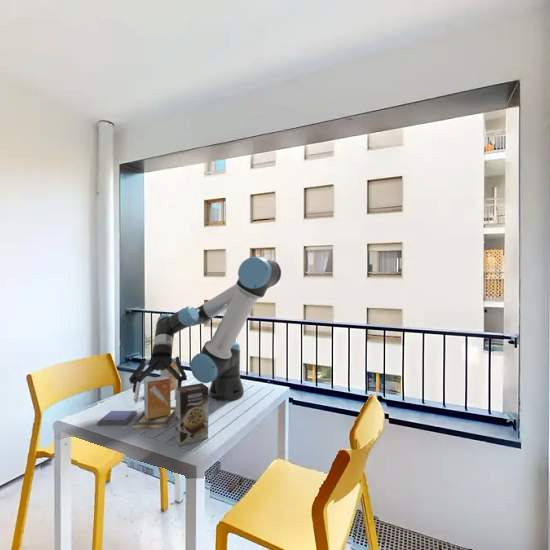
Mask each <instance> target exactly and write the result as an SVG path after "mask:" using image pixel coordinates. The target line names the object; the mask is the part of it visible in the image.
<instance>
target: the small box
mask: <svg viewBox="0 0 550 550" xmlns="http://www.w3.org/2000/svg"><path fill="white" fill-rule="evenodd" d="M143 380H144V381H143V386H144V387H143V388H144V389H143V394H144V395H143V396H144V398H143V401H144V404H143V405H144V409H143V410H144V411H143V412H144V414H145V416H146V418H147V419H151V418H156V417H161V416H166V415H170V414H171V407H172V406H171V401H172V400H171V391H170V378H169V377H167V376H161V377H160V376H156V377H151V378H150V377H149V378H144V379H143Z"/></svg>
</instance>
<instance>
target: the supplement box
mask: <svg viewBox="0 0 550 550" xmlns="http://www.w3.org/2000/svg"><path fill="white" fill-rule="evenodd" d="M179 361H180V362H181V359H180V358H179ZM170 365H171V366H172V368H173V369H174V370H175V371H176V372H177V373H178V374H179V375H180V376H181V373H180V371H179V369H178V367H177V365H176V364H174V362H172V363H171V364H170ZM159 372H160V374H159V375H160V376H159V377H161V376H167V377H169V378H170V392H172V391H173V390H175V385H176V380H177V379H176V378H175V377H174V376H173V375H172V374H171V373H170V372H169V371H168V370H167V369H165V370H159Z"/></svg>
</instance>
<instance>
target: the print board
mask: <svg viewBox="0 0 550 550" xmlns="http://www.w3.org/2000/svg"><path fill="white" fill-rule="evenodd" d="M175 418H176V406H171V414H170V415H166V416H161V417H156V418H151V419H147V418H146V416H145V414H144V411H143V412H141V414H140V415H139V416H138V417H137V418H136V419H135V420H134V422H132V425H131V429H168V427H169V426H170V425H171V423H172V422H173V420H174V419H175Z"/></svg>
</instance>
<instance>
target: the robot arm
mask: <svg viewBox="0 0 550 550" xmlns="http://www.w3.org/2000/svg"><path fill="white" fill-rule="evenodd" d="M237 275H238V279H237V280H236V283H235V284H233V285H232V286H231V287H229V288H228V289H226V290H224V291H222V292H221V293H219V294H217V295H216V296H214V297H212V298H211V299H209V300H207V301H206V302H204V303H203V304H201V305H199V306H197V307H193V306H191V305H188V306H186V307H183V308H181V309H180V310H178V311H177V312H175V313H173V314H171V313H165V314H161V315H159V317H157V321H156V325H155V331H154V332H155V333H154V339H153V344H152V350H151V357H150V359H146V358H145V357H143V358H142V359H141V362H140V364H138V366H137V367H136V368H135V371H134V372H133V373H132V374H131V376H130V377H129V378H128V380H129V383H130V384H131V385H132V384H133V385H132V392H133V394H134V396H133V401H134V403H138V402H139V396H140V391H141V382H143V380H144V379H147V377H148V376H149V375H151V373H153V372H154V371H156V372H157V371H158V372H159V371H160V370H165V369H167V370H168V371H169V372H170V373H171V374H172V375H173V376H174V377H175V378H176V379H177V380H176V385H175V389H174V400H175V401H176V387H182V385H183V383H182V382H183V381H184V382H185V381H187V379H188V378H187V374H186V372H185V370H184V367H183V366H182V364H181V360H180V361H179V359H180V356H178V355H177V356H176V357H174V358H173V357H172V356H173V347H174V336H175V334H177V333H179V332H180V331H183V330H184V329H186V328H190V327H194V326H195V327H196V326H198V325H204V324H207V323H209V322H211V320H213V318H215V317H217V316H218V315H220V314H221V313H224V312H225V313H224V315H223V317H222V319H221V321H220V322H219V324H218V326H217V328H216V330H215V332H214V334H213V336H212V338H211V340H207V341H206V342H204V345H203V347H202V348H201V350H200V352H198V353H196V354H195V355H194V356H193V357H191V358H192V359H191V360H190V366H189V368H190V371H191V374H192V376H193V377H194V378H195V380H197V381H198V382H200V383H203V384H209V383H210V386H209V399H211V400H214V401H219V402H220V401H221V402H223V401H224V402H225V401H226V400H229V401H234V400H233V399H235V400H237V399H236V398H238V399H240V398H242V397H243V396H244V394H245V393H244V392H245V391H244V390H245V389H244V385H243V382H242V379H241V375H240V373H241V372H240V371H241V370H240V369H241V366H240V365H241V364H240V363H241V349H240V344H239V343H238V342H236V341H237V339H238V336H239V335H240V333H241V331H242V328H244V326H245V323H246V321H247V320H248V317H249V316H250V314H251V313H252V310H253V308H254V306H255V304H256V303H257V301H258V300H259V299H263V298H264V296H265V294H266V293H267V290H268V289H270V288H272V287H273V286H275V285H277V284H278V283H279V281H280V280H281V276H282V268H281V267H280V264H279V262H276V260H274V259H271V258H266V257H262V256H251V257H247V258H246V259H245V260H243V261H242V262H241V264H240V265H239V267H238V271H237ZM172 362H174V364H176V365H177V367H178V369H179V371H180V375H179V374H178V373H177V372H176V371H175V370H174V369H173V368H172V366H171V365H170V364H171V363H172ZM148 364H149V365H148ZM146 366H148V367H146ZM145 367H146V368H145ZM144 369H145V370H144ZM242 395H243V396H242ZM241 396H242V397H241ZM239 397H240V398H239ZM226 402H227V401H226Z"/></svg>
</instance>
